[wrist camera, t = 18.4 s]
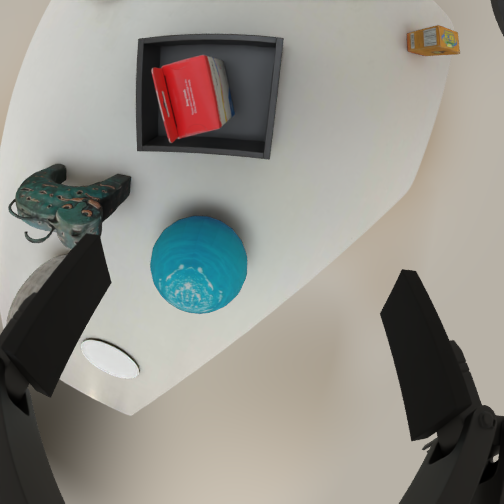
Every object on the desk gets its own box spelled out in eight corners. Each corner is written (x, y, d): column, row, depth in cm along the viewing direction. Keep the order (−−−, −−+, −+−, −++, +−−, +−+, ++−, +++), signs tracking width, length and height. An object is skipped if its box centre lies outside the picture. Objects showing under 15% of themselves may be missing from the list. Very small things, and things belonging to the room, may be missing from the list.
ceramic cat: (140, 172, 44) (73, 238, 27) (137, 206, 47) (79, 280, 31) (52, 155, 42) (-23, 205, 25) (53, 185, 45) (-14, 242, 29)
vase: (45, 247, 55) (-23, 334, 32) (78, 236, 52) (0, 336, 29) (72, 288, 61) (18, 378, 38) (106, 282, 59) (49, 386, 36)
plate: (122, 380, 87) (121, 383, 86) (74, 348, 79) (72, 350, 78) (152, 368, 78) (151, 371, 77) (95, 329, 70) (94, 332, 69)
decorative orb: (166, 263, 54) (140, 321, 42) (169, 192, 45) (131, 242, 33) (243, 278, 55) (234, 341, 43) (259, 208, 46) (252, 266, 34)
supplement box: (424, 36, 27) (460, 32, 19) (424, 56, 29) (461, 57, 20) (405, 31, 27) (438, 24, 19) (406, 51, 29) (439, 49, 21)
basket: (282, 44, 31) (283, 38, 26) (270, 146, 40) (269, 159, 35) (158, 42, 31) (138, 38, 26) (155, 139, 40) (137, 151, 35)
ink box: (235, 115, 37) (216, 136, 25) (202, 122, 38) (167, 147, 26) (223, 59, 32) (196, 51, 20) (189, 67, 33) (146, 67, 21)
